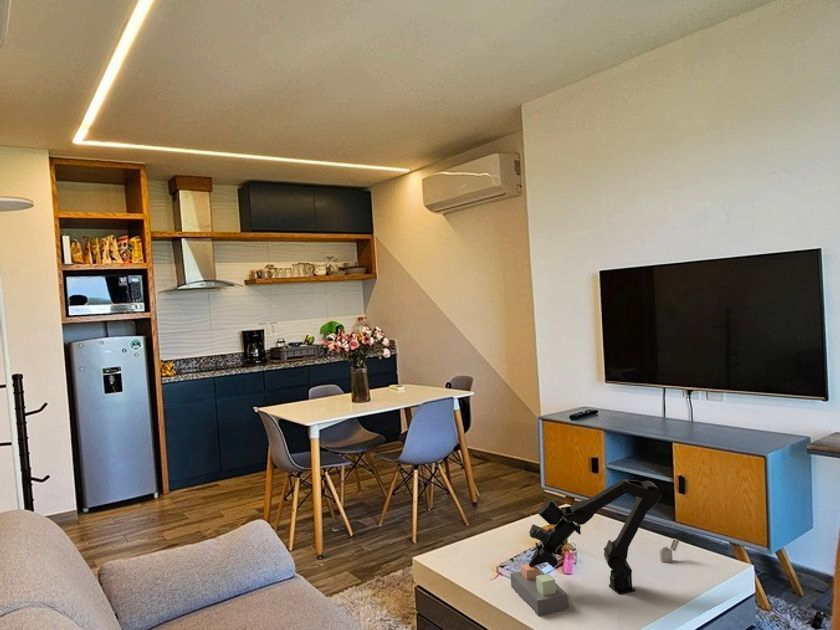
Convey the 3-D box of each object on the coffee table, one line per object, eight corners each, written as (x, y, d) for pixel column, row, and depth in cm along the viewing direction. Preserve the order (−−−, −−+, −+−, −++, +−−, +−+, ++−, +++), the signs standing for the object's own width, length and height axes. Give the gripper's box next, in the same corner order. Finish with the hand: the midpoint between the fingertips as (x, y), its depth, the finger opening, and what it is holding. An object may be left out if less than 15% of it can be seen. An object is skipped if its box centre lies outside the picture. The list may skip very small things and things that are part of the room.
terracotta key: (533, 578, 211) (532, 562, 211) (539, 583, 207) (538, 568, 207) (521, 580, 210) (520, 565, 210) (527, 586, 206) (526, 570, 206)
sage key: (549, 589, 200) (548, 573, 200) (556, 596, 195) (555, 579, 195) (536, 592, 199) (536, 576, 199) (543, 598, 194) (542, 581, 194)
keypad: (539, 581, 214) (538, 568, 214) (568, 609, 194) (568, 594, 194) (511, 587, 212) (510, 573, 211) (538, 616, 191) (537, 600, 191)
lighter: (662, 562, 224) (661, 541, 224) (660, 560, 225) (658, 539, 225) (680, 560, 224) (679, 539, 224) (677, 558, 226) (676, 537, 226)
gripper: (539, 508, 217) (510, 539, 218) (545, 528, 199) (514, 561, 200) (562, 529, 217) (533, 560, 218) (571, 550, 198) (539, 584, 199)
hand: (529, 565), depth 209 cm, fingers closed, pressing on terracotta key
